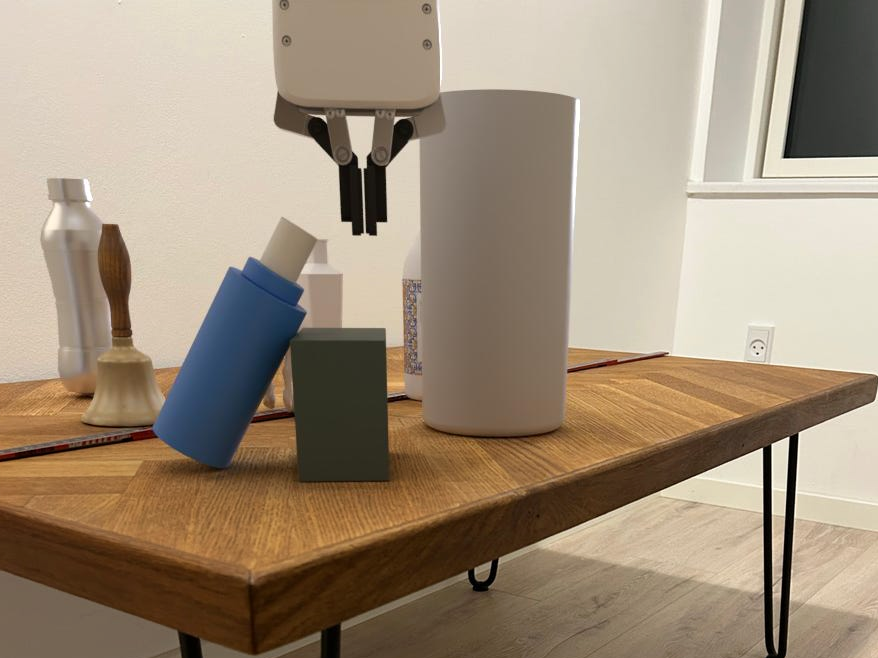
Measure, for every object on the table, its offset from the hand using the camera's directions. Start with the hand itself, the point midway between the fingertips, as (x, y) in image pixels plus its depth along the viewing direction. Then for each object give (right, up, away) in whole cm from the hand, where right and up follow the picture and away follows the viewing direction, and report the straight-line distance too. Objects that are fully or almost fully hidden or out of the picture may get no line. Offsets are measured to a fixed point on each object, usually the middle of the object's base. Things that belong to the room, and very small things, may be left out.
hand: (364, 234), depth 62 cm
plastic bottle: (-32, -2, +35) cm, 48 cm away
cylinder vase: (+9, -8, +22) cm, 25 cm away
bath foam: (+3, -1, +37) cm, 37 cm away
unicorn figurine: (-12, -3, +32) cm, 34 cm away
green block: (-2, -14, +6) cm, 15 cm away
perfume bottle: (-7, -6, +26) cm, 27 cm away
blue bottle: (-9, -14, +5) cm, 18 cm away
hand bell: (-23, -7, +22) cm, 33 cm away
